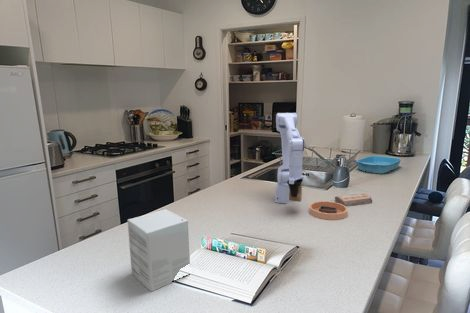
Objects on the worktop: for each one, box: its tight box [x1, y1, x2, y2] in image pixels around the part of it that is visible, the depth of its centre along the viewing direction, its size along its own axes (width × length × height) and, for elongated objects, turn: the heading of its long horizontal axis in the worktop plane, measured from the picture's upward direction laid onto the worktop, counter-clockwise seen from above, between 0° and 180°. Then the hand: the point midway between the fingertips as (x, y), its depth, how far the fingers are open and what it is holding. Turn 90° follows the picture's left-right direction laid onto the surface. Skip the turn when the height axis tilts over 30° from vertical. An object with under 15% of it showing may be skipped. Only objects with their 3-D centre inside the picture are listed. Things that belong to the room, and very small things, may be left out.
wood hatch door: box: [289, 184, 303, 202], centre depth 142 cm, size 5×2×7 cm, turn 66°
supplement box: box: [127, 208, 191, 292], centre depth 96 cm, size 13×13×18 cm
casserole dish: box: [356, 155, 402, 175], centre depth 222 cm, size 37×22×7 cm, turn 135°
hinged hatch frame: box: [319, 206, 337, 213], centre depth 141 cm, size 7×5×2 cm, turn 66°
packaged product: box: [330, 193, 373, 207], centre depth 154 cm, size 18×5×10 cm
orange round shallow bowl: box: [308, 200, 349, 221], centre depth 141 cm, size 16×16×4 cm
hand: (294, 195), depth 142 cm, fingers closed on wood hatch door, 2 cm apart
